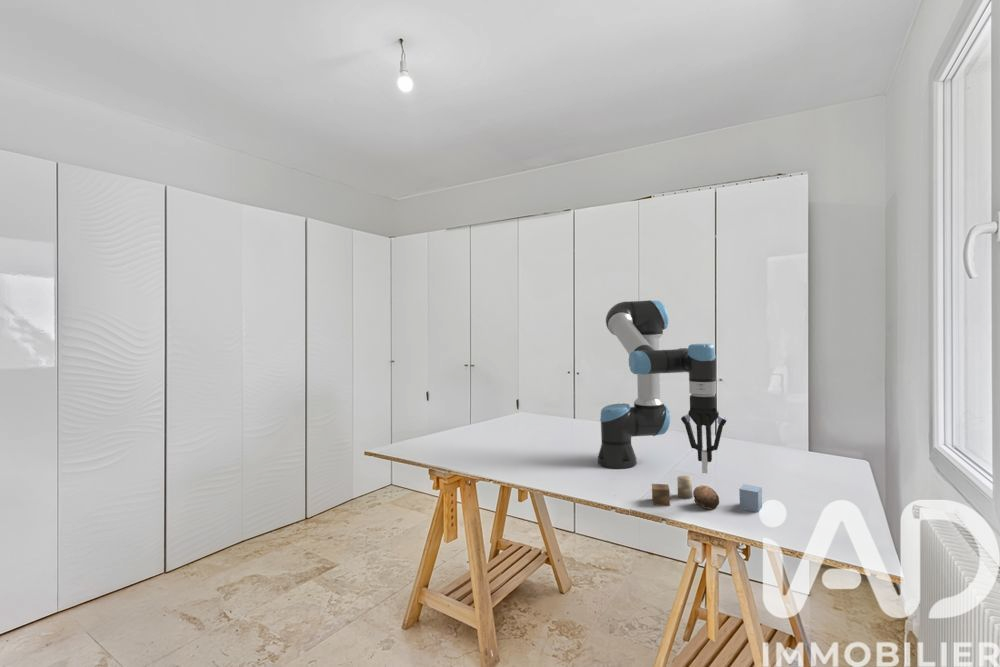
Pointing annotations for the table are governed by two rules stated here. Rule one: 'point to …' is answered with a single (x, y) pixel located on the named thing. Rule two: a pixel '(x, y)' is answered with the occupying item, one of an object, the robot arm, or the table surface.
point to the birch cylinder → (684, 487)
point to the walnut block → (661, 494)
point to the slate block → (750, 498)
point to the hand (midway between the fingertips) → (705, 471)
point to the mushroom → (706, 497)
